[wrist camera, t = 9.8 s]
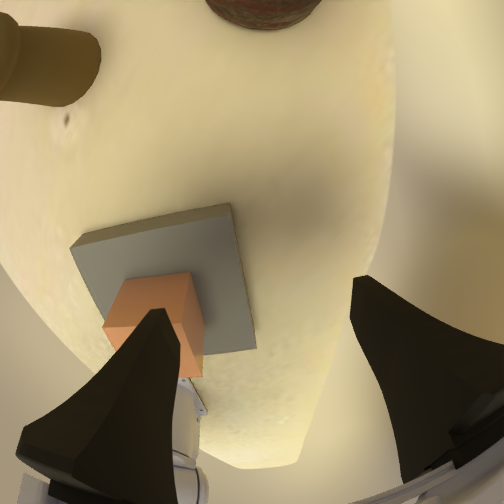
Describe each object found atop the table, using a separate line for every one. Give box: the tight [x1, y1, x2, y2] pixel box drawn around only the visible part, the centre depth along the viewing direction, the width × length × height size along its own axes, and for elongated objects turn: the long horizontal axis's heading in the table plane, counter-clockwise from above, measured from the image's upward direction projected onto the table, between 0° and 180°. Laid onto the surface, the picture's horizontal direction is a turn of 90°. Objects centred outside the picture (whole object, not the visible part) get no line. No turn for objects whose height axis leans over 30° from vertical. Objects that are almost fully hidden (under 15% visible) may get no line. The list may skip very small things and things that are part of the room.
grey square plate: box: [69, 203, 257, 355], centre depth 21 cm, size 12×12×3 cm
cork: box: [0, 12, 101, 107], centre depth 8 cm, size 6×6×11 cm
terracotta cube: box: [102, 272, 205, 378], centre depth 17 cm, size 5×5×5 cm
